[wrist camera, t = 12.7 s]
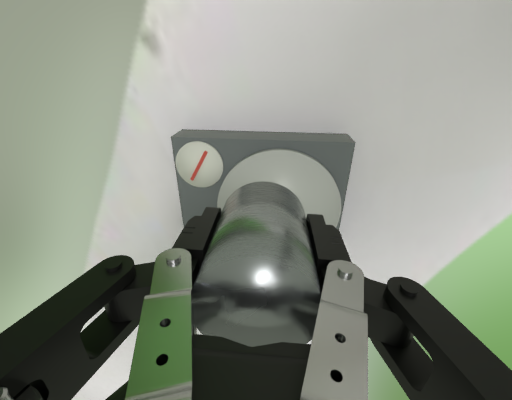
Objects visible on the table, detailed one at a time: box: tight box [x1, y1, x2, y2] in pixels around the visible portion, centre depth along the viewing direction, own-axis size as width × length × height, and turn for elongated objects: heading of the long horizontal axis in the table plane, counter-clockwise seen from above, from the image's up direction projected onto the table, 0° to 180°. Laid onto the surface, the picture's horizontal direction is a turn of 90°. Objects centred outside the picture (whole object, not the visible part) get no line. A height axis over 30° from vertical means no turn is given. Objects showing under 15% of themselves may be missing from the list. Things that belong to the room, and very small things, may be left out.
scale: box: [171, 129, 355, 230], centre depth 26 cm, size 16×13×4 cm
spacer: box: [192, 181, 322, 347], centre depth 11 cm, size 4×4×6 cm
